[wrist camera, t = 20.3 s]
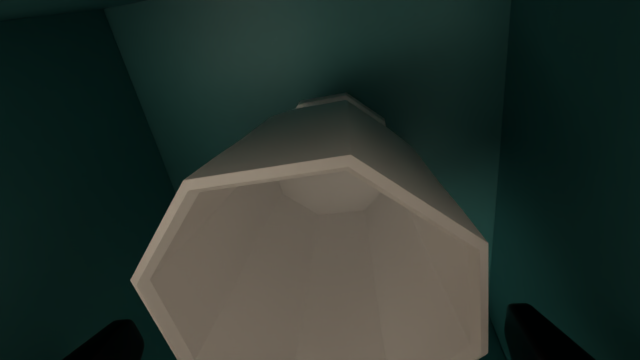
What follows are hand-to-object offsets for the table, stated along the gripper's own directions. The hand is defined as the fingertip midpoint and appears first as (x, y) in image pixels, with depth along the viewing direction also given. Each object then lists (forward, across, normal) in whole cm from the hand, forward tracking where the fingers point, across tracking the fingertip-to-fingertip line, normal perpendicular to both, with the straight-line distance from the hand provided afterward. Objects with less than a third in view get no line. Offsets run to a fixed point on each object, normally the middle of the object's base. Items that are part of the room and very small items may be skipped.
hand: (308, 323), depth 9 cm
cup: (+7, 0, 0) cm, 7 cm away
